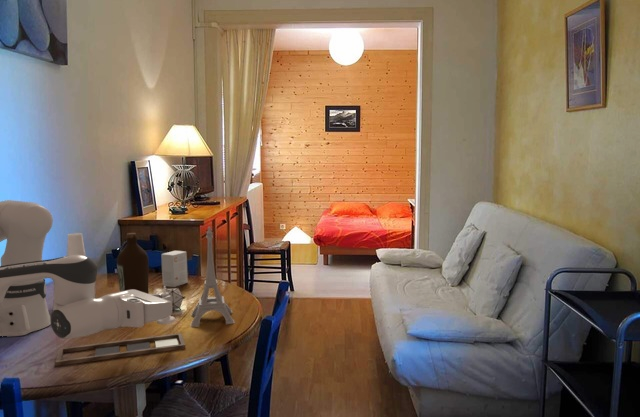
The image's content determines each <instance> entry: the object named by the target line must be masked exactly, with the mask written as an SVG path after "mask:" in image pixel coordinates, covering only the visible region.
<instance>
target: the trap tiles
mask: <svg viewBox="0 0 640 417" xmlns="http://www.w3.org/2000/svg"><path fill="white" fill-rule="evenodd" d="M148 348H151V344H150V342H142V343H135V344H127V345H126V351H133V350H141V349H148ZM94 350H95V352H94V356H96V355H103V354H111V353H118V352H120V346H111V347H104V348H96V349H94Z"/></svg>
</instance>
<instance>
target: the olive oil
mask: <svg viewBox="0 0 640 417" xmlns="http://www.w3.org/2000/svg"><path fill="white" fill-rule="evenodd" d="M149 264H150V262H149V256H148V253H147V251H146V250H144V249H143V248H142V247H141V246H140V245H139V244H138V238H137V233H136V232H127V233H126V244H125V246H124V247H123V249H121V251H119V253H118V255H117V258H116V267H117V268H116V269H117V277H118V287H119V292H121V291H126V290H131V289H135V290H138V291H141V292H144V293H147V294H150V293H149V292H150V291H149V274H150V272H149V267H150V266H149Z"/></svg>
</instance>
